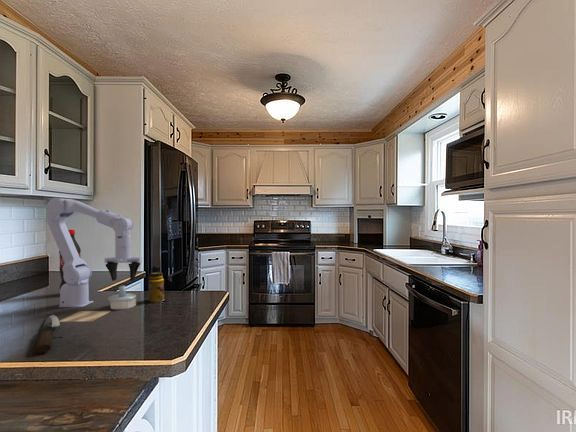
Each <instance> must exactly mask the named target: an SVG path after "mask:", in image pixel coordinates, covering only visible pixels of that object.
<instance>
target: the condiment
mask: <svg viewBox="0 0 576 432" xmlns="http://www.w3.org/2000/svg"><path fill="white" fill-rule="evenodd" d="M163 275H164V274H163V272H162V271H154V272H150V273H149V277H148V278H149V279H148V300H149V301H148V302H150V303H159V302H162V301H164V300H165V279H164V277H163Z"/></svg>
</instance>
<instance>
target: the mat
mask: <svg viewBox="0 0 576 432" xmlns="http://www.w3.org/2000/svg"><path fill="white" fill-rule="evenodd" d="M110 312H112V311H111V310H91V311H90V310H83V311H82V310H79V311H77V312H75V313H73V314H70V315H69V316H67V317H65V318H62V319H59V321H60V322H61V323H69V322H71V323H72V322H73V323H74V322H76V323H77V322H83V323H84V322H90V323H91V322H94V321H96V320H98V319H99V318H101V317H103V316H105V315H107V314H108V313H110Z"/></svg>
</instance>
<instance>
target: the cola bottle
mask: <svg viewBox="0 0 576 432" xmlns="http://www.w3.org/2000/svg"><path fill="white" fill-rule="evenodd" d="M68 231H69V233H70V236H71V238H72V240H73V243H74V245H75V247H76V250H77V252H78V254H79V257H80V258H81V252H82V251H81V247H80V245H79V243H78V241H77V240H76V238H75V235H76V231H75V229H68ZM58 253H59V267H58V268H59V273H60V279H61V282H60V284H59V290H60V289H61V287H62V285H64V284H66V282H65V280H64V278H63V275H64V273H63V270H62V268H63V266H64V264H65V262H64V260H63V257H62V255H61V253H60V250H59V249H58Z"/></svg>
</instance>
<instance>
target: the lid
mask: <svg viewBox="0 0 576 432" xmlns="http://www.w3.org/2000/svg"><path fill="white" fill-rule="evenodd" d="M126 287H127V285H119V286H118V294H114V295H111V296H110V295H109V296H108V297H107V300H108V302H110V301H111V302H122V301H128V300H132V299H135V298H136V299H137V294H136V293H128V292H127V291H126V290H127V289H126Z"/></svg>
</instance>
